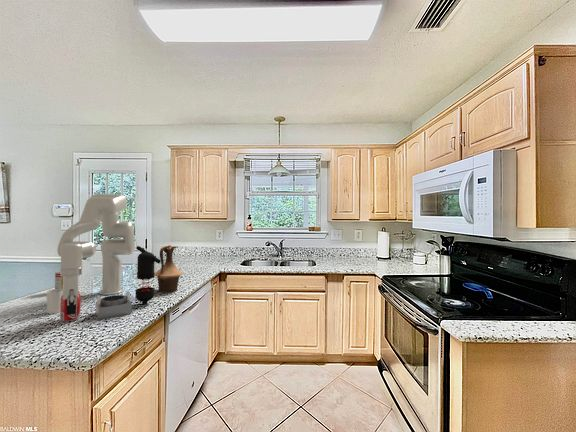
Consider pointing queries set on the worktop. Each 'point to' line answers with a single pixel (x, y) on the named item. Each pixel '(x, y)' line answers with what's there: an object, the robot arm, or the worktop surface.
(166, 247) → the pitcher
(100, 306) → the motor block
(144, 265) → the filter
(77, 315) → the soda can
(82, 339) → the worktop surface
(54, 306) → the white cup
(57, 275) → the canned food
